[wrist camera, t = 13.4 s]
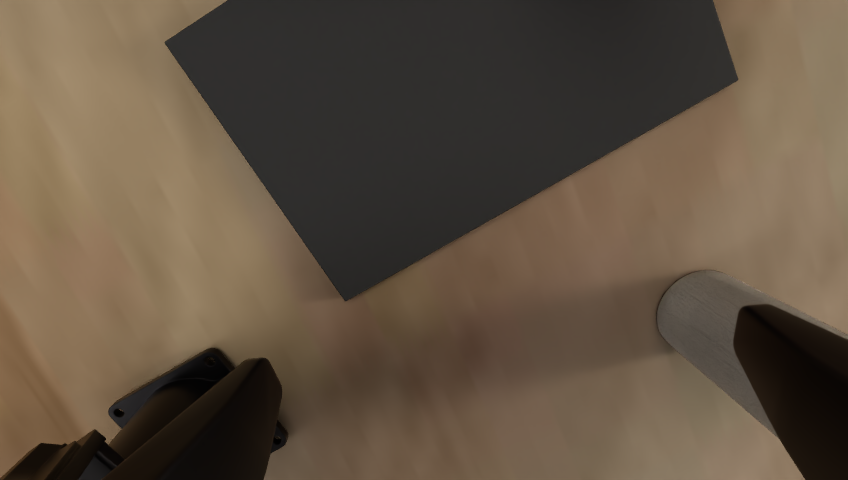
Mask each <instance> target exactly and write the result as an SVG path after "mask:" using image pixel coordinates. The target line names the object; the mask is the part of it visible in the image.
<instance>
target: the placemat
mask: <svg viewBox="0 0 848 480" xmlns="http://www.w3.org/2000/svg"><path fill="white" fill-rule="evenodd" d="M165 44H166V46H167V47H168V48H169V50H170V51H171V53H172V54H173V56H174V57H175V58H176V60H177V61H178V63H179V64H180V66H181V67H182V69H183V70H184V71H185V73H186V74H187V76H188V77H189V79H190V80H191V81H192V83H193V84H194V86H195V87H196V89H197V90H198V91H199V93H200V94H201V96H202V97H203V99H204V100H205V101H206V103H207V104H208V106H209V107H210V109H211V110H212V111H213V113H214V114H215V116H216V117H217V119H218V120H219V121H220V123H221V124H222V126H223V127H224V129H225V130H226V131H227V133H228V134H229V136H230V137H231V139H232V140H233V142H234V143H235V144H236V146H237V147H238V149H239V150H240V152H241V153H242V154H243V156H244V157H245V159H246V160H247V162H248V163H249V164H250V166H251V167H252V169H253V170H254V172H255V173H256V174H257V176H258V177H259V179H260V180H261V182H262V183H263V184H264V186H265V187H266V189H267V190H268V192H269V193H270V194H271V196H272V197H273V199H274V200H275V202H276V203H277V205H278V206H279V207H280V209H281V210H282V212H283V213H284V215H285V216H286V217H287V219H288V220H289V222H290V223H291V225H292V226H293V227H294V229H295V230H296V232H297V233H298V235H299V236H300V237H301V239H302V240H303V242H304V243H305V245H306V246H307V247H308V249H309V250H310V252H311V253H312V255H313V256H314V257H315V259H316V260H317V262H318V263H319V265H320V266H321V268H322V269H323V270H324V272H325V273H326V275H327V276H328V278H329V279H330V280H331V282H332V283H333V285H334V286H335V288H336V289H337V290H338V292H339V293H340V295H341V296H342V298H343V299H344V300H345V301H347V300H349V299H351V298H352V297H354V296H356V295H358V294H360V293H361V292H363V291H365V290H367V289H368V288H370V287H372V286H374V285H376V284H377V283H379V282H381V281H383V280H384V279H386V278H388V277H390V276H392V275H393V274H395V273H397V272H399V271H400V270H402V269H404V268H406V267H408V266H409V265H411V264H413V263H415V262H416V261H418V260H420V259H422V258H423V257H425V256H427V255H429V254H431V253H432V252H434V251H436V250H438V249H439V248H441V247H443V246H445V245H447V244H448V243H450V242H452V241H454V240H455V239H457V238H459V237H461V236H463V235H464V234H466V233H468V232H470V231H471V230H473V229H475V228H477V227H479V226H480V225H482V224H484V223H486V222H487V221H489V220H491V219H493V218H494V217H496V216H498V215H500V214H502V213H503V212H505V211H507V210H509V209H510V208H512V207H514V206H516V205H518V204H519V203H521V202H523V201H525V200H526V199H528V198H530V197H532V196H534V195H535V194H537V193H539V192H541V191H542V190H544V189H546V188H548V187H549V186H551V185H553V184H555V183H557V182H558V181H560V180H562V179H564V178H565V177H567V176H569V175H571V174H573V173H574V172H576V171H578V170H580V169H581V168H583V167H585V166H587V165H589V164H590V163H592V162H594V161H596V160H597V159H599V158H601V157H603V156H605V155H606V154H608V153H610V152H612V151H613V150H615V149H617V148H619V147H620V146H622V145H624V144H626V143H628V142H629V141H631V140H633V139H635V138H636V137H638V136H640V135H642V134H644V133H645V132H647V131H649V130H651V129H652V128H654V127H656V126H658V125H660V124H661V123H663V122H665V121H667V120H668V119H670V118H672V117H674V116H676V115H677V114H679V113H681V112H683V111H684V110H686V109H688V108H690V107H691V106H693V105H695V104H697V103H699V102H700V101H702V100H704V99H706V98H707V97H709V96H711V95H713V94H715V93H716V92H718V91H720V90H722V89H723V88H725V87H727V86H729V85H731V84H732V83H734V82H736V81H737V80H738V77H737V74H736V71H735V68H734V65H733V62H732V59H731V55H730V52H729V49H728V46H727V43H726V40H725V37H724V34H723V31H722V27H721V24H720V21H719V18H718V15H717V12H716V9H715V6H714V3H713V0H228V1H226V2H225V3H223V4H222V5H220V6H219V7H217V8H215V9H214V10H212V11H211V12H209V13H208V14H206V15H205V16H203V17H202V18H200V19H199V20H197V21H196V22H194V23H193V24H191V25H190V26H188V27H187V28H185V29H184V30H182V31H181V32H179V33H178V34H176V35H175V36H173V37H172V38H170V39H168V40H167V41H165Z"/></svg>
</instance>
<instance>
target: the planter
mask: <svg viewBox="0 0 848 480" xmlns="http://www.w3.org/2000/svg"><path fill="white" fill-rule="evenodd" d="M755 304H771V305H773V306H776V307H778V308H780V309H782V310H784V311H786V312H789V313H791V314H793V315H795V316H797V317H800V318H802V319H804V320H806V321H808V322H811V323H813V324H815V325H817V326H819V327H822V328H824V329H826V330H828V331H830V332H833V333H835V334H837V335H839V336H841V337H844V338H846V339H848V335H847V334H845V333H843V332H841V331H839V330H837V329H835V328H833V327H831V326H829V325H827V324H825V323H823V322H821V321H819V320H817V319H815V318H813V317H811V316H809V315H807V314H805V313H803V312H801V311H799V310H797V309H796V308H794V307H792V306H790V305H788V304H786V303H784V302H782V301H780V300H778V299H776V298H774V297H772V296H770V295H768V294H766V293H764V292H762V291H760V290H758V289H756V288H754V287H752V286H750V285H748V284H746V283H744V282H742V281H740V280H738V279H736V278H734V277H731V276H729V275H727V274H724V273H722V272H719V271H713V270H703V271H697V272H694V273H691V274H688V275H686V276H684V277H683V278H681V279H679V280H678V281H677V282H675V283H674V284H673V285H672V286H671V287H670V288H669V289H668V290H667V292H666V293H665V294H664V296H663V298H662V300H661V302H660V304H659V307H658V311H657V325H658V329H659V331H660V333H661V335H662V336H663V338H664V339H665V340H666V341H667V342H668V343H669V344H670V345H671V346H672V347H673V348H674V349H676V350H677V351H678V352H679V353H680V354H681V355H683V356H684V357H685V358H686V359H687V360H688V361H690V362H691V363H692V364H693V365H694V366H695V367H696V368H698V369H699V370H700V371H701V372H702V373H703V374H705V375H706V376H707V377H708V378H709V379H710V380H712V381H713V382H714V383H715V384H716V385H717V386H718V387H720V388H721V389H722V390H723V391H724V392H725V393H727V394H728V395H729V396H730V397H731V398H732V399H734V400H735V401H736V402H737V403H738V404H739V405H740V406H742V407H743V408H744V409H745V410H746V411H747V412H749V413H750V414H751V415H752V416H753V417H754V418H756V419H757V420H758V421H759V422H760V423H761V424H762V425H764V426H765V427H766V428H767V429H768V430H769V431H771V432H772V433H773V434H774V435H775V436H776V437H778V436H777V434H776V432H775V430H774V429H773V427H772V425H771V423H770V421H769V419H768V417H767V415H766V413H765V411H764V409H763V407H762V405H761V403H760V401H759V399H758V397H757V395H756V393H755V392H754V390H753V388H752V386H751V384H750V382H749V380H748V378H747V376H746V374H745V372H744V370H743V368H742V366H741V364H740V362H739V360H738V358H737V356H736V354H735V351H734V347H733V337H734V332H735V327H736V321H737V316H738V312H739V310H740V308H741V307H743V306H746V305H755ZM778 438H779V437H778Z"/></svg>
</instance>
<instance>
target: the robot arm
mask: <svg viewBox="0 0 848 480" xmlns="http://www.w3.org/2000/svg"><path fill="white" fill-rule="evenodd" d="M733 347H734V351H735V354H736V356H737V358H738V360H739V362H740V364H741V366H742V368H743V370H744V372H745V374H746V376H747V378H748V380H749V382H750V384H751V386H752V388H753V390H754V392H755V393H756V395H757V397H758V399H759V401H760V403H761V405H762V407H763V409H764V411H765V413H766V415H767V417H768V419H769V421H770V423H771V425H772V427H773V429H774V430H775V432H776V434H777V436H778V437H779V439H780V441H781V442H782V444H783V446H784V447H785V449H786V450H787V452H788V454H789V455H790V457H791V458H792V460H793V461H794V463H795V464H796V466H797V467H798V469H799V471H800V472H801V474H802V475H803V477H804V478H805V480H848V339H846V338H844V337H841V336H839V335H837V334H835V333H833V332H830V331H828V330H826V329H824V328H822V327H819V326H817V325H815V324H813V323H811V322H808V321H806V320H804V319H802V318H800V317H797V316H795V315H793V314H791V313H789V312H786V311H784V310H782V309H780V308H778V307H776V306H773V305H771V304H755V305H746V306H743V307H741V308H740V310H739V312H738V316H737V321H736V327H735V332H734V337H733ZM208 357H212V358H213V359H214V360H215V361H214V362H213V361H210V360H209V359H208ZM281 399H282V387H281V383H280V381H279V379H278V377H277V375H276V373H275V371H274V369H273V368H272V366H271V364H270V362H269V360H267V359H266V358H253V359H248V360H245V361H244V362H242V363H241V364H240V365H239V366H238V367H236V368H234V367H233V366H232V364H231V363H230V362H229V361H228V360H227V358H226V357H225V356H224V355H223V354H222V352H220V351H219V350H218V349H215V348H209V349H206V350H205V351H203V352H201V353H199V354H198V355H196V356H194V357H192V358H191V359H189V360H187V361H185V362H184V363H182V364H180V365H178V366H177V367H175V368H173V369H171V370H170V371H168V372H166V373H164V374H163V375H161V376H159V377H157V378H156V379H154V380H152V381H150V382H149V383H147V384H145V385H143V386H142V387H140V388H138V389H136V390H135V391H133V392H131V393H129V394H128V395H126V396H124V397H122V398H121V399H119V400H117V401H116V402H115V403H114V404H113V405H112V406H111V407H110V408H109V411H108V412H109V416H110V417H111V418H112V419H113V420H114V421H115V422H116V423H117V424H118V425H119V426H120V427H121V428H122V430H121V431H120V432H119V433H118V434H117V435H116V437H115V438H114V439H113V440H112V441H111V442H110V444H109V445H108V444H107V443H106V442H104V441H105V440H106V438H105V437H104V436H103V435H101V434H100V433H99V432H98V431H97V430H96V429H94V430H93V431H91V432H90V433H88V434H87V435H86V436H84V437H83V438H81V439H80V440H78V441H77V442H76V441H74V442H72V443H71V444H69V445H67V444H63V445H56V444H46V443H40V444H39V445H38V446H36V447H35V448H33V449H32V450H31V451H29V452H28V453H27V454H26V455H25V456H24V457H23V458H22V459H21V460H19V461H18V462H17V463H16V464H15V465H14V466H13V467H12V468H11V469H10V470H9V471H8V472H7V473H6V474H5V475H3V476H2V477H1V478H0V480H264V476H265V473H266V469H267V465H268V461H269V457H270V453H272V452H274V451H276V450H278V449H280V448H281V447H283V446H284V445H285V444H286V442H287V439H288V432H287V430H286V429H285V428H284V427H283V426H282V424H281V423H280V422H279V421H278V420H277V418H278V413H279V408H280V403H281ZM119 409H121V410H123V411H124V412H122V411H120V410H119ZM275 436H278V437H280V438H281V439H277V438H275Z"/></svg>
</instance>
